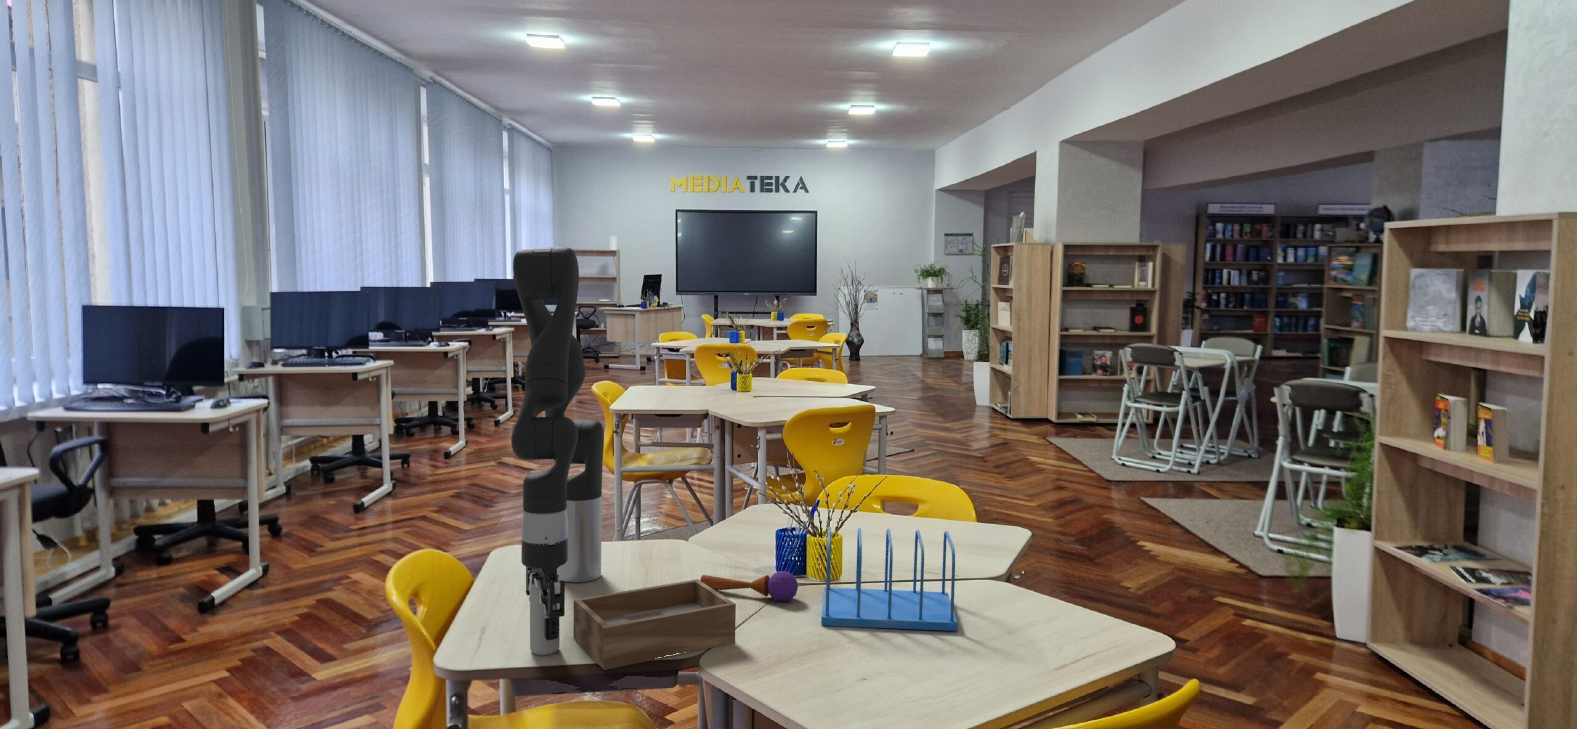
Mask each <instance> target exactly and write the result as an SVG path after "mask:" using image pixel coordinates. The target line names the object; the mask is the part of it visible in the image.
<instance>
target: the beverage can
mask: <svg viewBox="0 0 1577 729" xmlns="http://www.w3.org/2000/svg"><path fill="white" fill-rule="evenodd" d="M544 598H546V599H547V598H548V596H544ZM559 604H560V603H559ZM553 610H555V605H553ZM560 620H561V619H560V617H559V621H560ZM544 623H545V617H544V610H543V606H541V605H540V604H539V598H538V591H537V589H536V588H535V583H534V582H531V585H530V601H529V647H530V648H529V649H530V651H531V652H532V653H533V654H534V655H536V656H551V655H553V654H555V653H557V651H559V648H560V636H559V637H558V638H557V639H554V640H546V639H545V637H544Z"/></svg>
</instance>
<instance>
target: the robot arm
mask: <svg viewBox="0 0 1577 729" xmlns="http://www.w3.org/2000/svg"><path fill="white" fill-rule="evenodd" d="M512 271H513V272H512V273H513V279H514V285H515V288H516V292H517V296H518V299H519V302H520V305H521V308H522V312H523V316H524V318H525V321H526V325H527V330H528V334H529V339H530V346H531V348H530V349H529V352H528V355H527V358H526V363H525V379H524V380H525V381H524V386H525V387H524V394H523V395H524V396H523V401H522V405H521V408H520V410H519V413H518V416H517V419H516V422H515V424H514V427H513V431H512V433H511V434H512V435H511V438H510V439H511V440H510V441H511V442H510V444H511V449H512V451H513V453H514V455H515V456H517V458H519V459H521V460H526V461H527V460H528V461H529V460H530V461H531V460H534V461H535V460H553V461H554V464H553V466H552V467H551V468H548V469H545V470H542V471H538V472H533V473H530V474H528V475H526V476H525V478H524V480H523V482H522V483H523V486H522V518H521V541H520V542H521V554H520V555H521V558H520V559H521V561H520V562H521V564H522V565H523V566H524V567H525V594H526V596H528V600H529V602H530V585H531V582H534V583H535V588H536V589H537V591H538V598H539V604H540V605H541V606H543V610H544V617H545V623H544V637H545V639H546V640H554V639H557V638H558V637H559V638H560V620H559V617H565V613H566V612H565V606H566V605H565V599H566V597H565V596H566V595H565V594H566V583H585V582H592V581H595V580H598V579H599V578H600V577H601V576H602V526H603V525H602V521H603V519H602V516H603V514H602V510H603V509H602V506H603V504H602V502H603V501H602V499H603V498H602V496H603V493H602V492H603V490H602V488H603V466H604V465H603V464H604V447H605V431H604V427H603V426H604V425H603V424H602V423H601V421H599V420H597V419H596V420H595V419H572V418H570V417H566V416H565V414H566V410H567V408H568V407H569V405H570V404H571V402H572V401H573V399H574V398H575V396H577V393H578V392H579V391H580V389H581V388H582V386H583V384H584V381H585V378H586V366H585V361H584V355H583V349H582V346H581V344H580V342H579V341H578V339H577V338H576V337H575V335H574V334H573V333H572V332H573V329H574V322H575V315H576V307H577V302H578V295H579V286H580V284H579V283H580V269H579V263H578V258H577V255H576V253H575V251H574V250H573V249H572V248H571V247H566V246H563V247H562V246H554V247H528V248H523V249H519V250H518V251H517V252H515V253H514V257H513V261H512ZM555 299H556V300H557V302H556V306H555V309H554V311H553V314H552V313H551V312H550V310H549V309H548V307H547V306H546V304H545V302H544V300H555ZM542 412H544V415H545V416H538V415H539V414H541V413H542ZM571 465H584V471H582V472H581V473H579V474H577V475H574V476H571V477H569V472H570V469H571V467H570V466H571ZM544 596H548V598H547V599H546V598H544ZM559 603H560V604H559ZM553 605H555V610H553Z"/></svg>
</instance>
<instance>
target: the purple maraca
mask: <svg viewBox="0 0 1577 729" xmlns="http://www.w3.org/2000/svg"><path fill="white" fill-rule="evenodd" d="M700 581H701V582H703V583H704V584H706V585H707V586H709V587H710V588H712V589H714V590H715V591H726V590H727V591H729V590H741V589H752V590H753V591H755V592H757V593H759V594H761V595H762V596H764V597H766V598H767V597H768V596H770V597H771V598H772V599H773V600H775V601H776V602H779V603H780V602H782V603H783V602H785V603H786V602H789V601H792V600H793V598H794V597H795V596H796V595H797V592H798V590H799V589H798V588H799V585H798V581H797V579H796V577H795V576H794V574H792V573H790V572H788V571H785V570H781V571H776V572H775V573H773V574H772V575H771V576H770V575H768V574H767V575H764V576H762V577H760V578H758V579H755V580H752V581H751V582H749V581H746V580H737V579H732V578H726V577H725V578H724V577H719V576H712V575H707V574H702V575H701V576H700Z"/></svg>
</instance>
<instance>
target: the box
mask: <svg viewBox="0 0 1577 729" xmlns="http://www.w3.org/2000/svg"><path fill="white" fill-rule="evenodd" d="M736 605H737V604H736V603H735V602H733V601H732V600H731V599H729V598H728V597H726V596H724V595H723V594H721V593H720V592H719V591H718V590H716V591H715V590H714V589H712V588H710V587H709V586H707V585H706V584H704V583H703V582H701V581H700V580H699V579H698V578H697V579H690V580H685V581H678V582H672V583H666V584H661V585H654V586H650V587H649V586H648V587H642V588H641V587H640V588H637V589H636V588H635V589H629V590H624V591H618V592H611V593H606V594H598V595H594V596H593V595H592V596H586V597H582V598H581V597H580V598H574V599H573V629H572V630H573V634H572V635H573V640H574V641H576V643H577V644H578V645H579V646H580V647H581V648H582V649H583V650H584V651H585V652H586V653H587V654H588V656H590V657H591V658H592V660H594V661H595V662H596V664H597V665H598V666H600V668H601V669H602V670H603V671H606V670H611V669H616V668H621V667H626V666H629V665H630V666H631V665H635V664H641V663H645V662H650V661H654V660H653V659H655V658H658V657H664V656H666V655H673V654H676V653H684V652H689V653H693V652H698V651H703V650H707V649H712V648H717V647H722V646H726V645H732V644H735V643H736V621H737V620H736V615H737V608H736V607H737V606H736ZM684 654H685V653H684ZM655 660H656V659H655Z"/></svg>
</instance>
